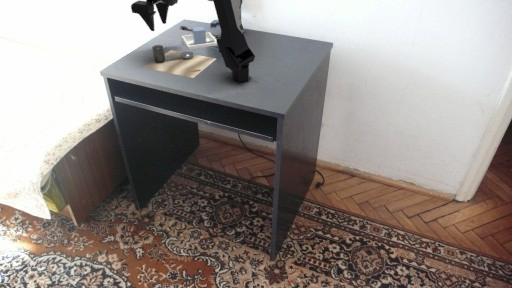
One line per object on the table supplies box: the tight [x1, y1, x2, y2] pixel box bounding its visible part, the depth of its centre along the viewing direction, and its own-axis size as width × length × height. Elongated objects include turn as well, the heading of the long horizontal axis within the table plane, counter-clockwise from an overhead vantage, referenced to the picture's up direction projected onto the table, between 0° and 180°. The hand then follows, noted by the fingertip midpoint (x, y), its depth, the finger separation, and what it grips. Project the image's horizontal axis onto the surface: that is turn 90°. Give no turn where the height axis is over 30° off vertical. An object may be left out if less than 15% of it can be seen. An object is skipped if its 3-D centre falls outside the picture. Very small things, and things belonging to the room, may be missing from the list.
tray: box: [181, 31, 218, 50], centre depth 136 cm, size 12×12×2 cm
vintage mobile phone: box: [231, 0, 245, 33], centre depth 140 cm, size 4×5×25 cm
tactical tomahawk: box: [179, 25, 221, 39], centre depth 149 cm, size 21×7×1 cm, turn 60°
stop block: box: [191, 26, 207, 45], centre depth 135 cm, size 4×4×6 cm
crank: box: [151, 44, 194, 63], centre depth 122 cm, size 14×4×5 cm, turn 112°
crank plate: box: [143, 49, 217, 79], centre depth 121 cm, size 19×16×2 cm
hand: (158, 27), depth 121 cm, fingers open, 7 cm apart
